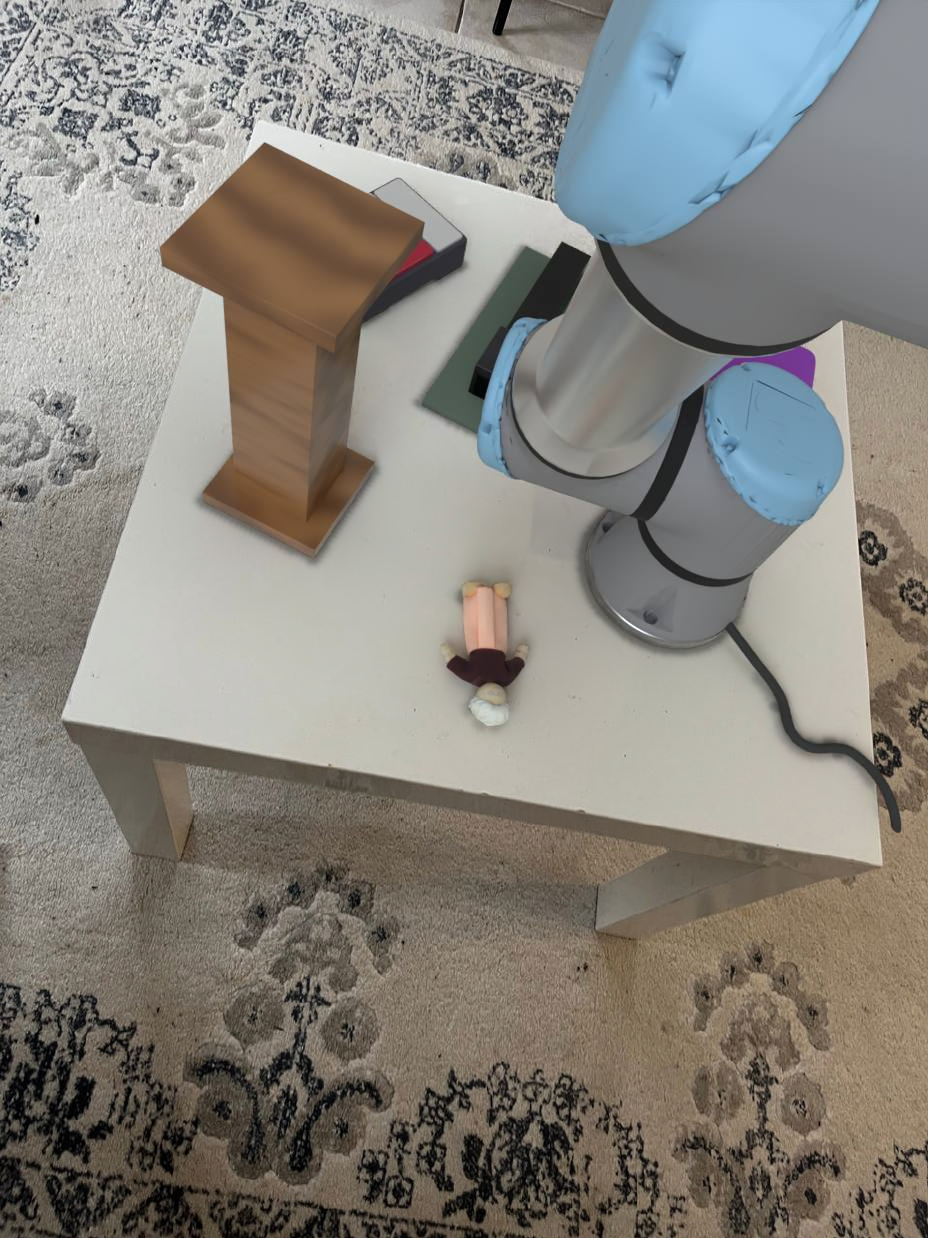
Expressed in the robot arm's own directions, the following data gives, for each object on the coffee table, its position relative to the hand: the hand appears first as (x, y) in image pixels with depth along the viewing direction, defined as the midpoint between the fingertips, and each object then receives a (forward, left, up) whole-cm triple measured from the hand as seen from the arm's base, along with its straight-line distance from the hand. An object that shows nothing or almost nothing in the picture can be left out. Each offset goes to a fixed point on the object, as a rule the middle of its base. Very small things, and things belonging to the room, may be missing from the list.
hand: (700, 50), depth 72 cm
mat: (-3, +9, -29) cm, 30 cm away
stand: (-15, +37, -29) cm, 49 cm away
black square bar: (-2, +8, -28) cm, 29 cm away
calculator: (+10, +21, -29) cm, 37 cm away
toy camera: (-16, -10, -29) cm, 35 cm away
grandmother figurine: (-30, +24, -27) cm, 47 cm away
